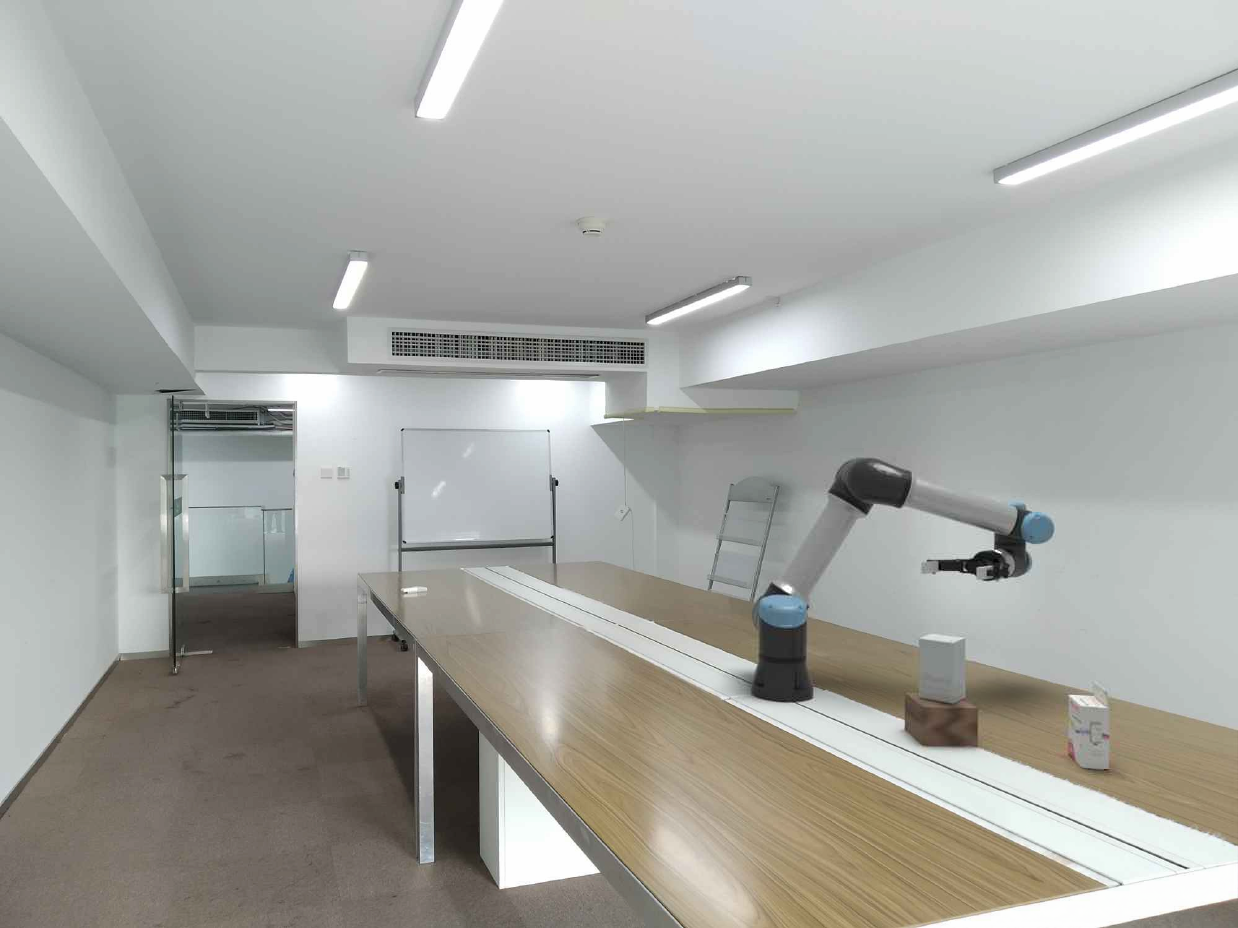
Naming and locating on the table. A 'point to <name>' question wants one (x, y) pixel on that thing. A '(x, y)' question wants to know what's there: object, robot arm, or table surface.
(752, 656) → the table surface
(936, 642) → the supplement box
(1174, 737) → the table surface
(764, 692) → the robot arm
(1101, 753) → the ink cartridge box
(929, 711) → the walnut block
